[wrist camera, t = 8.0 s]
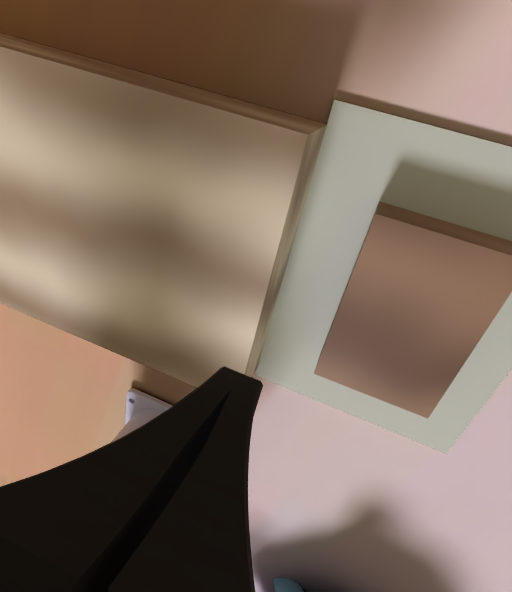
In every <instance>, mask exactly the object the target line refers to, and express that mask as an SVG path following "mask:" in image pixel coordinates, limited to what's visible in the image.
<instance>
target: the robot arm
mask: <svg viewBox="0 0 512 592" xmlns="http://www.w3.org/2000/svg"><path fill="white" fill-rule="evenodd" d="M262 387H263V385H262V383H261V381H259V380H256V379H254V378H252V377H249V376H247V375H244V374H242V373H239V372H237V371H235V370H232V369H230V368H227V367H225V366H224V367H221V368H220V369H219V370H218V371H217V372H216V373H214V374H213V375H212V376H211V377H210V378H209V379H208V380H206V381H205V382H204V383H203V384H201V385H200V386H199V387H198V388H196V389H195V390H194V391H193V392H191V393H190V394H189V395H187V396H186V397H184V398H183V399H182V400H180V401H179V402H178V403H176V404H175V405H170V404H168V403H166V402H164V401H161V400H159V399H157V398H155V397H152V396H150V395H148V394H146V393H143V392H141V391H139V390H137V389H134V388H131V389H129V391H128V392H127V398H126V421H125V426H124V427H123V429H122V430H121V431H120V432H119V434H118V435H117V436H116V437H115V438H114V440H113V441H112V442H111V443H109V444H107V445H105V446H103V447H101V448H99V449H97V450H95V451H93V452H91V453H89V454H86V455H84V456H82V457H80V458H77V459H75V460H72V461H70V462H67V463H65V464H63V465H60V466H58V467H55V468H53V469H50V470H48V471H45V472H43V473H40V474H37V475H34V476H31V477H28V478H25V479H22V480H19V481H16V482H13V483H10V484H7V485H4V486H1V487H0V592H255V586H254V578H253V569H252V559H251V546H250V534H249V517H248V463H249V447H250V438H251V429H252V422H253V416H254V413H255V410H256V406H257V403H258V400H259V397H260V393H261V390H262Z"/></svg>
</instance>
